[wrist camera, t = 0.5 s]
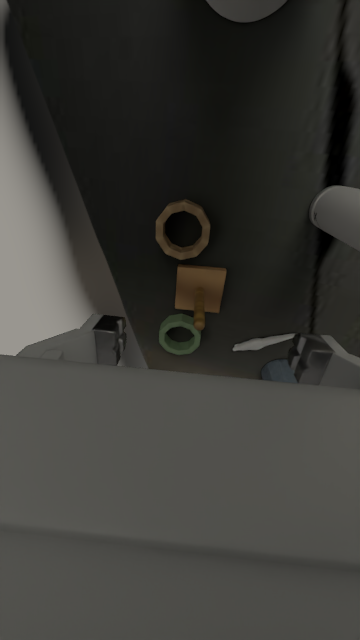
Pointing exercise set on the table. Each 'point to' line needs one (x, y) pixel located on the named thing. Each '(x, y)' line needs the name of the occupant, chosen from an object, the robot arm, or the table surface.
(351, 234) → the travel mug
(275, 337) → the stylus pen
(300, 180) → the table surface
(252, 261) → the table surface
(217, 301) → the peg stand
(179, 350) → the sage ring
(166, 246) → the birch ring
